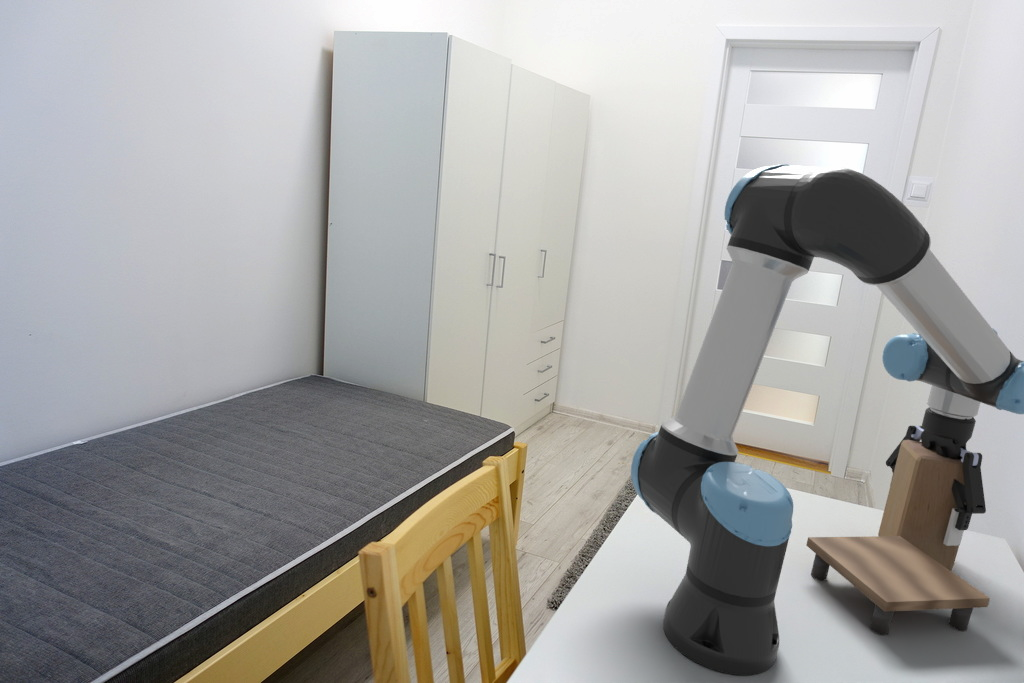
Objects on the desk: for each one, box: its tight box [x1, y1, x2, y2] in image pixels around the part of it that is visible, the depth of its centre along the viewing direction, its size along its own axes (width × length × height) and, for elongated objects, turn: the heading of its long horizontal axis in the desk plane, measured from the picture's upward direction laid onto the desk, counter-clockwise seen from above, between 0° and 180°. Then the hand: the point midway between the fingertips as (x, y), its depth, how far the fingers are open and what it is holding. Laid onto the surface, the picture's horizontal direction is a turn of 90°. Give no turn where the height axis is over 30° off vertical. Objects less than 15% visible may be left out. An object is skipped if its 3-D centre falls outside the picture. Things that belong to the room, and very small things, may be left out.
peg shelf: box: [806, 535, 991, 636], centre depth 111 cm, size 18×18×6 cm
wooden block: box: [877, 439, 966, 572], centre depth 126 cm, size 10×10×20 cm
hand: (921, 525), depth 127 cm, fingers open, 12 cm apart
